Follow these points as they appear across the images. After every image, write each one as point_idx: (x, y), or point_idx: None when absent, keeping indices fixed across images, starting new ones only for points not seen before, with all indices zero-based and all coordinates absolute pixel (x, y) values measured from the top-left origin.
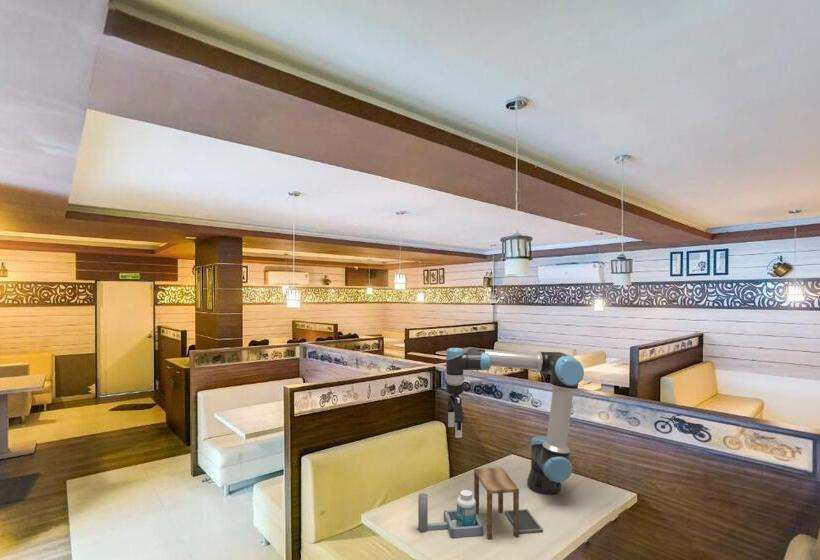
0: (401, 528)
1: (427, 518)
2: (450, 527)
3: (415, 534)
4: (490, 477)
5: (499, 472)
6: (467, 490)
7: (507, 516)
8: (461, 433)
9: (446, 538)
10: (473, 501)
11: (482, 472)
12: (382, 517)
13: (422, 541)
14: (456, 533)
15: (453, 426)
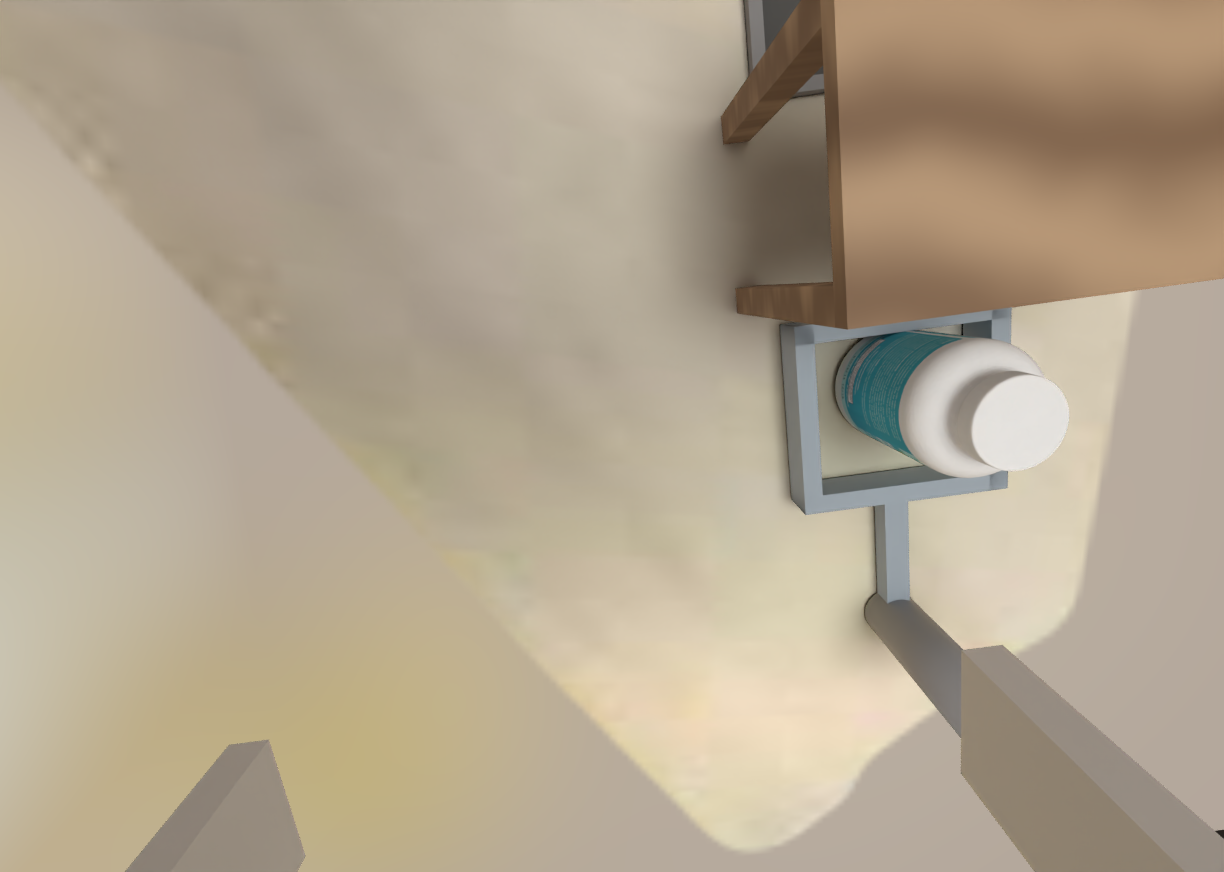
0: (864, 705)
1: (929, 621)
2: (981, 490)
3: None
4: (1082, 172)
5: (972, 23)
6: (986, 410)
7: (810, 93)
8: (1075, 718)
9: (975, 498)
10: (1030, 363)
11: (945, 246)
12: (761, 792)
13: (983, 612)
14: None
15: (270, 764)
